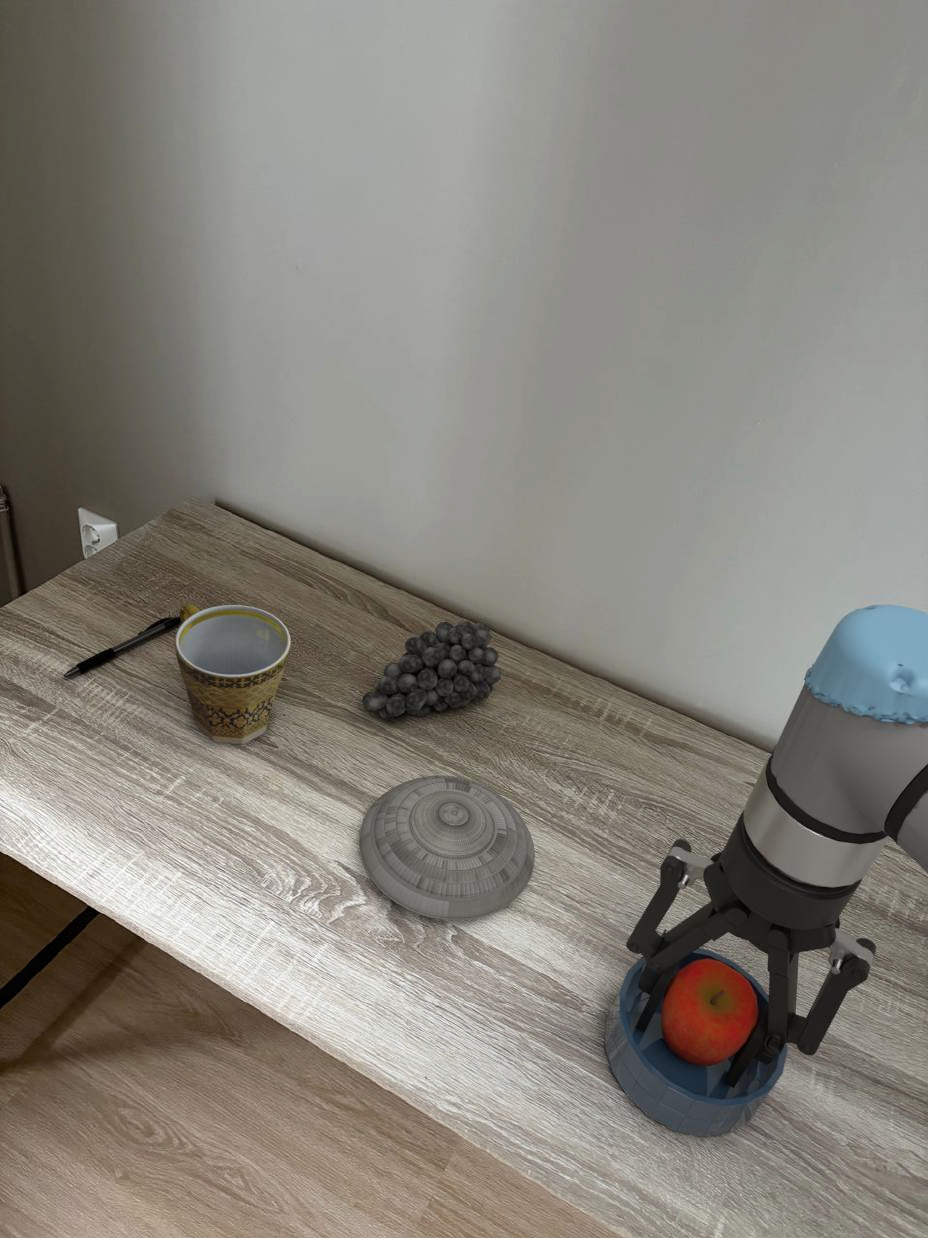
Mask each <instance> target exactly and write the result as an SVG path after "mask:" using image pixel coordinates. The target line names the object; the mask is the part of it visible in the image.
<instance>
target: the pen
mask: <svg viewBox="0 0 928 1238" xmlns="http://www.w3.org/2000/svg"><path fill="white" fill-rule="evenodd" d="M181 624H182V622H181V619H180V615H179V616H168V617H164V618H161V619H159V620H156V621H155V622H153V623H151V624H150V625H149V626H147V627H146V628H145V630H142V631H140V632H138V633H137V635H135V636H133V637H131V638H129V639H127V640H124V641H123V642H121V643H119V644H117V645H115V646H113V647H109V648H107V649H104V650H102V651H99V652H98V653H96V654H95V655H92V656H90V657H88V658H86V659H84V660H83V661H80V662H78V663H76V664H75V666H73V667H71V668H69V669H68V670H67V671H66V672H65V673H64V674H63V677H64V678H65V679H67V678H72V677H75V676H77V675H83V674H85V673H87V672H89V671H91V670H93V669H96V668H97V667H99V666H102V665H104V664H106V663H108V662H110V661H111V660H113V659H116V657H117V656H120V655H121V654H123V653H125V652H127V651H129V650H131V649H133V648H135V647H137V646H139V645H141V644H143V643H146V642H147V641H149V640H151V639H153V638H155V637H157V636H160V635H162V634H164V633H165V632H168V631H170V630H172V629H175V628H176V627H179V626H180V625H181Z"/></svg>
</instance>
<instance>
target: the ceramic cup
mask: <svg viewBox="0 0 928 1238" xmlns="http://www.w3.org/2000/svg"><path fill="white" fill-rule="evenodd" d="M179 616H180V619H181V624H180V625H179V626H178V629H177V630H176V632H175V633H176V634H175V635H174V648H175V649H174V650H175V655H176V661H177V663H178V669H179V672H180V675H181V677H182V680H183V684H184V685H185V690H186V694H187V697H188V701H189V705H190V707H191V711H192V716H193V719H194V722H195V725H196V726H197V727H198V728H199V729H200V730H201V731H202V732H203V733H204V734H205V735H206V736H207V737H208V738H209V739H210V740H211V741H212V742H214V743H220V744H231V745H246V744H247V743H249V742H251V741H252V740H255V739H256V738H258V737H260V736H262V735H264V734H265V732H266V730H267V727H268V724H269V721H270V720H269V719H270V716H271V712H272V708H273V704H274V700H275V698H276V694H277V690H278V688H279V687H280V686H279V685H280V683H281V681H282V678H283V676H284V672H285V669H286V665H287V662H288V658H289V653H290V650H291V644H292V640H291V635H290V632H289V629H288V628H287V627H286V625H285V624H284V623H283V622H282V621H281V620H280V618H278V617H277V616H276V615H274V614H272V613H270V612H268V611H266V610H263V609H260V608H257V607H253V606H248V605H240V604H225V605H217V606H212V607H209V608H205V609H202V610H200V609H199V608H197V607H196V606H194V605H193V604H187V603H186V604H184V605H182V606H181V607H180V609H179Z"/></svg>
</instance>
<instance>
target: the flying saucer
mask: <svg viewBox="0 0 928 1238" xmlns="http://www.w3.org/2000/svg"><path fill="white" fill-rule="evenodd" d="M358 849H359V856H360V859H361V862H362V864H363V867H364V869H365V871H366V873H367V876H369V878H370V879H371V881H372V882H373V883H374V885H375V886H376V887H377V888H378V889H379V890H380V892H382V893H383V894H384V895H385V896H386V897H388V899H390V900H391V901H393V902H394V903H396V904H397V905H398V906H401V907H402V908H404V909H406V910H408V911H410V912H412V913H415V914H417V915H420V916H423V917H427V918H430V919H436V920H441V921H442V920H443V921H470V920H476V919H480V918H484V917H488V916H491V915H493V914H495V913H498V912H499V911H501V910H504V908H506V907H508V906H509V905H511V904H512V903H513V902H515V901H516V900H517V899H518V898H519V896H521V894H522V893H523V892H524V890H525V889H526V888H527V886H528V885H529V882H530V880H531V879H532V876H533V872H534V868H535V861H536V853H535V851H536V850H535V845H534V840H533V838H532V834H531V832H530V830H529V828H528V826H527V824H526V822H525V820H524V819H523V817H522V815H521V814H520V813H519V811H518V810H517V809H516V808H515V807H514V806H513V805H512V804H511V803H510V802H509V801H508V800H507V799H505V798H504V797H503V796H502V795H501V794H499V793H498V792H496V791H495V790H493V789H492V788H489V787H488V786H486V785H484V784H482V783H479V782H477V781H474V780H472V779H468V778H464V777H461V776H460V777H459V776H454V775H428V776H421V777H416V778H412V779H410V780H407V781H405V782H402V783H400V784H398V785H396V786H394V787H392V788H390V789H389V790H387V791H386V792H384V793H383V794H382V795H381V796H380V797H378V799H376V800H375V801H374V803H372V805H371V806H369V808H368V810H367V811H366V814H364V818H363V820H362V822H361V825H360V828H359V835H358Z"/></svg>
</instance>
